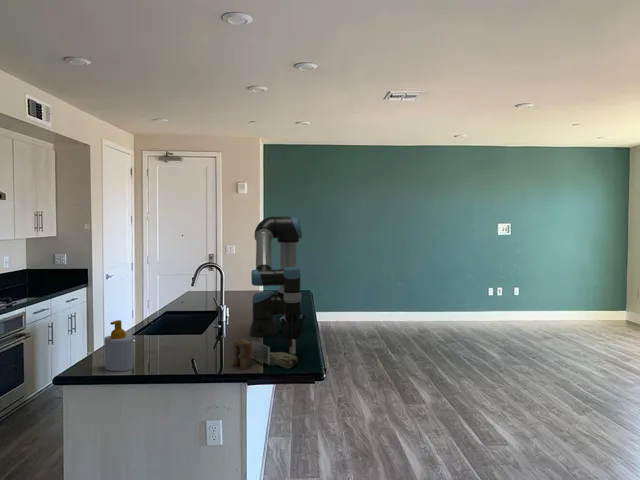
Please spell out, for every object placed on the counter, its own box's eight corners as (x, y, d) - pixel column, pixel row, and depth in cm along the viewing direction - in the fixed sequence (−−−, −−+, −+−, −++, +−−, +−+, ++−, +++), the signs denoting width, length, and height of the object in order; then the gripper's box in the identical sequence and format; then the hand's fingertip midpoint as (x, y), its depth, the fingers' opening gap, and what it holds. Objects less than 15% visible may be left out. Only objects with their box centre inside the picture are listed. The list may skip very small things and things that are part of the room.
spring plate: (254, 355, 205) (254, 340, 204) (270, 363, 194) (270, 347, 193) (233, 360, 199) (233, 344, 198) (248, 368, 188) (248, 351, 187)
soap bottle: (99, 369, 191) (98, 321, 190) (114, 363, 199) (113, 317, 198) (123, 373, 186) (122, 324, 186) (138, 367, 194) (137, 320, 193)
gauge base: (254, 357, 208) (254, 334, 207) (268, 363, 198) (268, 339, 198) (230, 362, 200) (229, 338, 200) (242, 369, 191) (242, 344, 190)
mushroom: (262, 366, 196) (262, 353, 196) (275, 360, 204) (275, 348, 204) (290, 371, 189) (290, 358, 189) (302, 364, 197) (302, 352, 197)
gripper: (299, 298, 212) (299, 348, 213) (275, 301, 204) (275, 353, 205) (308, 301, 206) (309, 352, 207) (284, 304, 198) (284, 357, 199)
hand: (292, 353), depth 206 cm, fingers closed
